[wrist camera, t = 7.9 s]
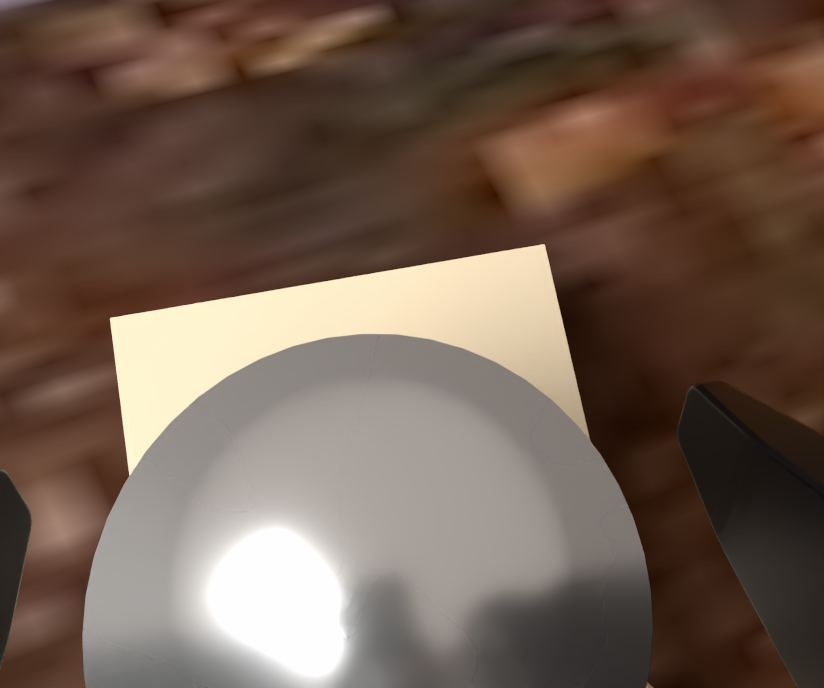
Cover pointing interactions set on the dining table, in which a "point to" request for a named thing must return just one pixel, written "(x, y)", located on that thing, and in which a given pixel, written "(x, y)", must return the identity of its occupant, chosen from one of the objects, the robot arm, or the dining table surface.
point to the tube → (370, 535)
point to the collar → (347, 331)
